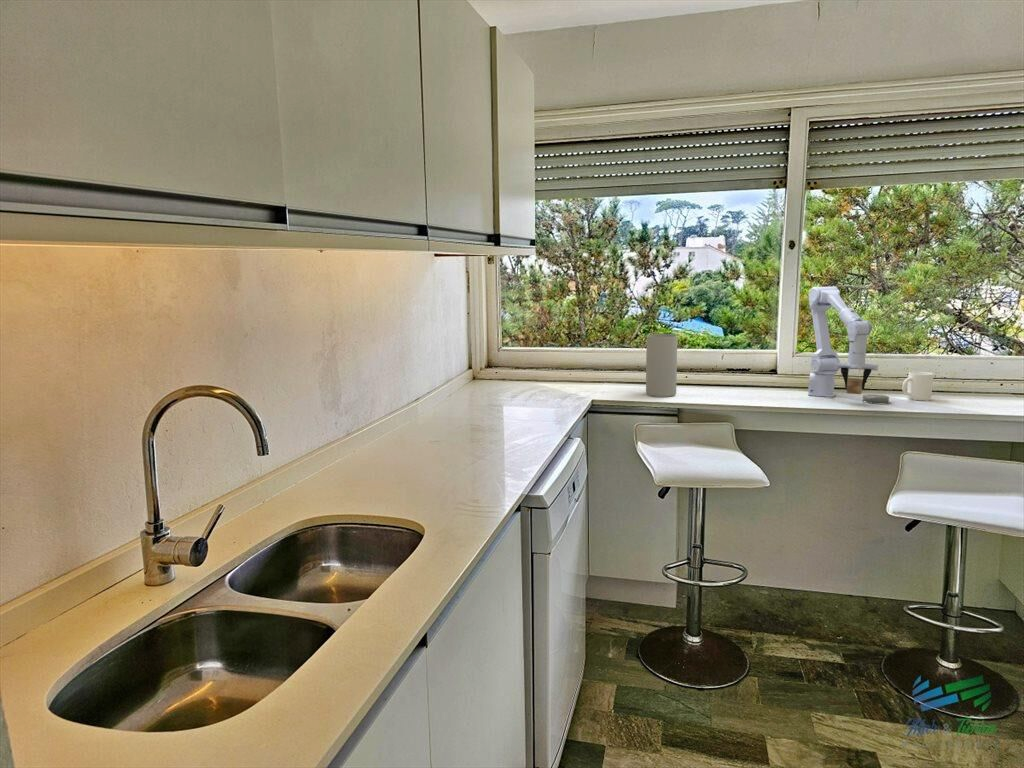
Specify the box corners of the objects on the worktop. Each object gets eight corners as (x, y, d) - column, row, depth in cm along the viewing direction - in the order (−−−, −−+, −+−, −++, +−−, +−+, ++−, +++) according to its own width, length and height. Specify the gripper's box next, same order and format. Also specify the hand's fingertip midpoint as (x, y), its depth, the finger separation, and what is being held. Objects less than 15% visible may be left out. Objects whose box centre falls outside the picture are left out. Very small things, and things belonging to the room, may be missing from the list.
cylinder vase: (679, 397, 279) (680, 336, 274) (648, 397, 279) (649, 337, 275) (672, 391, 291) (673, 333, 287) (643, 392, 291) (644, 334, 287)
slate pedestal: (861, 402, 261) (862, 397, 260) (863, 398, 268) (863, 393, 268) (888, 404, 256) (888, 399, 256) (889, 400, 264) (889, 395, 263)
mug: (909, 402, 260) (911, 375, 258) (893, 398, 268) (895, 372, 266) (936, 400, 262) (938, 374, 260) (919, 396, 270) (921, 371, 268)
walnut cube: (846, 393, 257) (847, 380, 256) (847, 390, 261) (848, 378, 261) (861, 394, 255) (862, 381, 254) (862, 391, 259) (863, 379, 258)
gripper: (835, 353, 256) (832, 388, 258) (878, 355, 248) (875, 391, 251) (836, 350, 262) (834, 385, 264) (879, 352, 254) (876, 388, 257)
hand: (854, 388), depth 258 cm, fingers closed on walnut cube, 5 cm apart
